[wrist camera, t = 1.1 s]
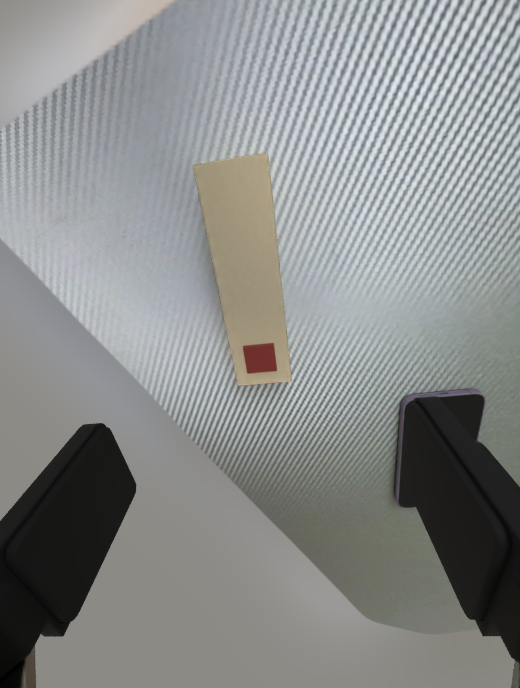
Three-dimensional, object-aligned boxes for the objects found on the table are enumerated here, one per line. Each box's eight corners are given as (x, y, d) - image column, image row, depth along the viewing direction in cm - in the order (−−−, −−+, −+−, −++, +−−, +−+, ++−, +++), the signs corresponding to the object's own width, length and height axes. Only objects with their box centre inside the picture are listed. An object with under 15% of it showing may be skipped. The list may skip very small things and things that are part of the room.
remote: (203, 168, 20) (191, 164, 17) (268, 157, 20) (267, 151, 17) (241, 367, 27) (237, 388, 24) (290, 363, 27) (291, 383, 24)
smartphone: (488, 391, 26) (464, 505, 32) (480, 385, 27) (459, 496, 34) (403, 399, 27) (396, 508, 33) (399, 392, 28) (392, 499, 34)
